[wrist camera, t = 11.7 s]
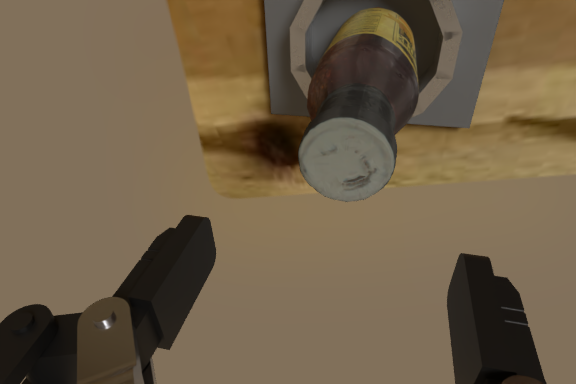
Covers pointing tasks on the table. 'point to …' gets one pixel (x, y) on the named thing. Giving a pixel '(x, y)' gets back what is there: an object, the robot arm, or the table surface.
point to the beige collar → (428, 82)
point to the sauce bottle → (359, 106)
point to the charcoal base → (423, 23)
